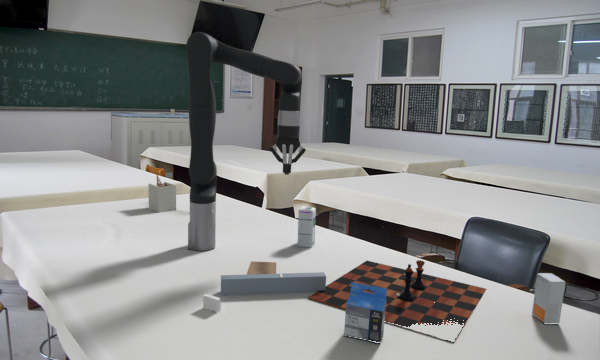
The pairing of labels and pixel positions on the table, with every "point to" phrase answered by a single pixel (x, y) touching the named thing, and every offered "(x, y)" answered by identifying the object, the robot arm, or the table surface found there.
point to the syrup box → (306, 226)
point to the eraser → (211, 302)
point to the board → (272, 283)
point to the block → (262, 268)
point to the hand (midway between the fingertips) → (286, 174)
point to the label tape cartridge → (365, 312)
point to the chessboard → (407, 294)
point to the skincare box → (548, 298)
